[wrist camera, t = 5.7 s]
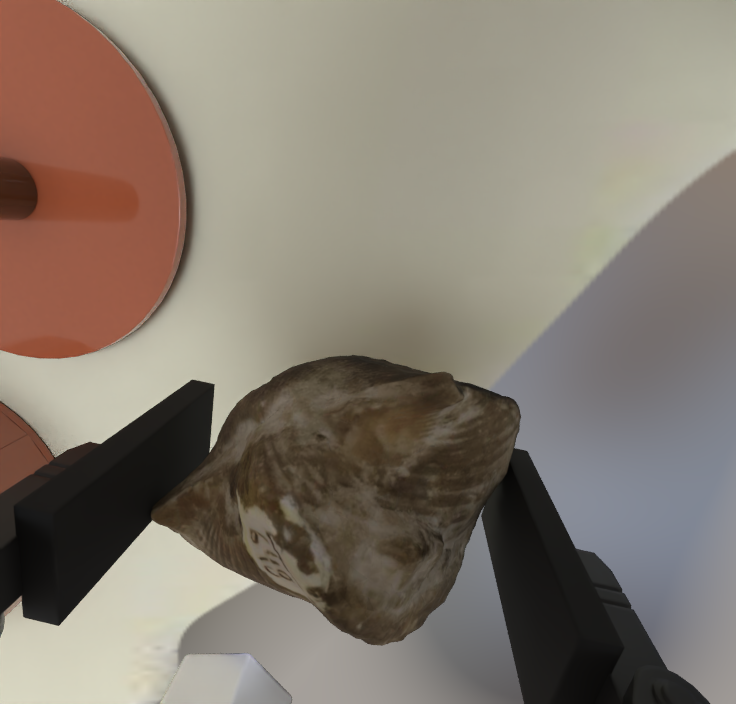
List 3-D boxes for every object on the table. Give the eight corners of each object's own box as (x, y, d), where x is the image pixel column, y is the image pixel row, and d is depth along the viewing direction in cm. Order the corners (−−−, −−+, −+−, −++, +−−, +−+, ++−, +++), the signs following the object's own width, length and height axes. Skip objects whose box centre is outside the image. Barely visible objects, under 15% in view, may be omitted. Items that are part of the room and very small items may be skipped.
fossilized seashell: (501, 286, 10) (162, 347, 13) (554, 617, 6) (27, 589, 9) (524, 443, 15) (278, 460, 18) (559, 677, 11) (230, 646, 14)
